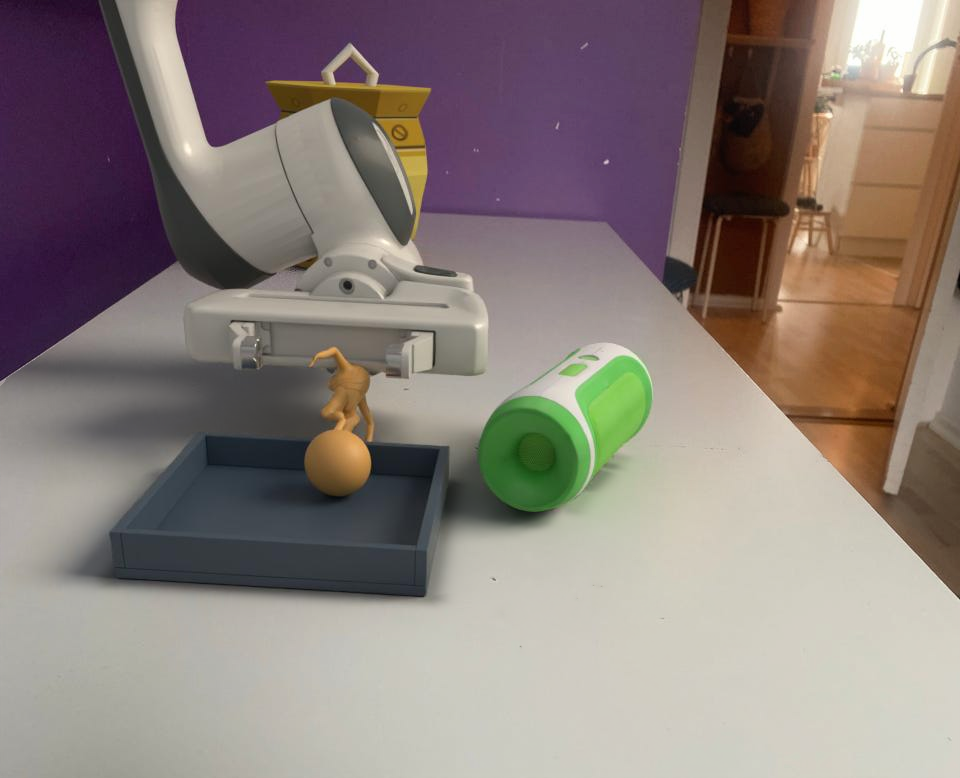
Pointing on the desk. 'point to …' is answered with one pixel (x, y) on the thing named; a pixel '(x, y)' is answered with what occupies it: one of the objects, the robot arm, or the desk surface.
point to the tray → (286, 519)
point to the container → (380, 101)
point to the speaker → (564, 427)
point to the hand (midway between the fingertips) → (320, 361)
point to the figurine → (341, 432)
